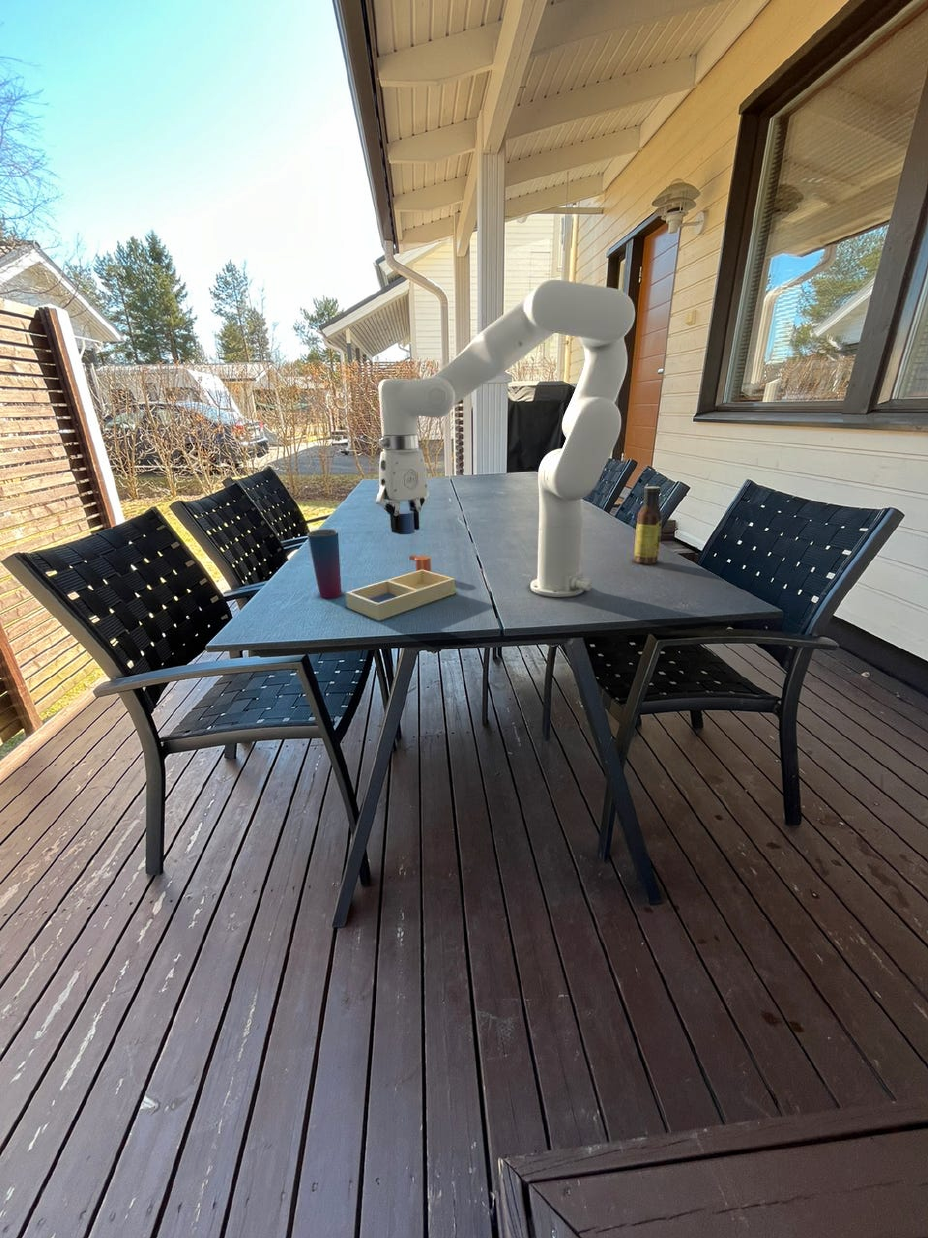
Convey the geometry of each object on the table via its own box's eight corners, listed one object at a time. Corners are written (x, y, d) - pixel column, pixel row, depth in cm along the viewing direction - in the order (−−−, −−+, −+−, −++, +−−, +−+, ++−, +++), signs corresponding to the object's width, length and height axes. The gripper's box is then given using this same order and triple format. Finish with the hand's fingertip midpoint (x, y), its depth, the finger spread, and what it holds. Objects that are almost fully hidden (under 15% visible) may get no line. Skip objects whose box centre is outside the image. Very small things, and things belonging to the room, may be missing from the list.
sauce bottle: (660, 564, 140) (670, 488, 132) (637, 565, 140) (645, 489, 133) (653, 558, 146) (661, 485, 138) (630, 558, 146) (637, 485, 139)
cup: (338, 600, 121) (330, 536, 115) (310, 599, 122) (301, 535, 116) (349, 590, 127) (342, 529, 121) (323, 589, 128) (315, 528, 122)
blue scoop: (418, 532, 116) (417, 511, 114) (404, 535, 114) (402, 514, 112) (399, 527, 121) (398, 507, 119) (385, 530, 118) (383, 510, 116)
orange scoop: (434, 574, 137) (433, 557, 136) (423, 577, 135) (422, 560, 133) (417, 569, 142) (416, 553, 140) (406, 572, 139) (405, 556, 137)
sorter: (455, 593, 123) (455, 578, 122) (378, 620, 109) (377, 604, 107) (423, 583, 131) (422, 569, 129) (347, 607, 116) (345, 592, 115)
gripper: (378, 447, 101) (385, 540, 108) (442, 442, 112) (444, 527, 119) (356, 445, 106) (364, 534, 113) (419, 441, 117) (423, 522, 124)
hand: (405, 530), depth 116 cm, fingers closed on blue scoop, 4 cm apart
